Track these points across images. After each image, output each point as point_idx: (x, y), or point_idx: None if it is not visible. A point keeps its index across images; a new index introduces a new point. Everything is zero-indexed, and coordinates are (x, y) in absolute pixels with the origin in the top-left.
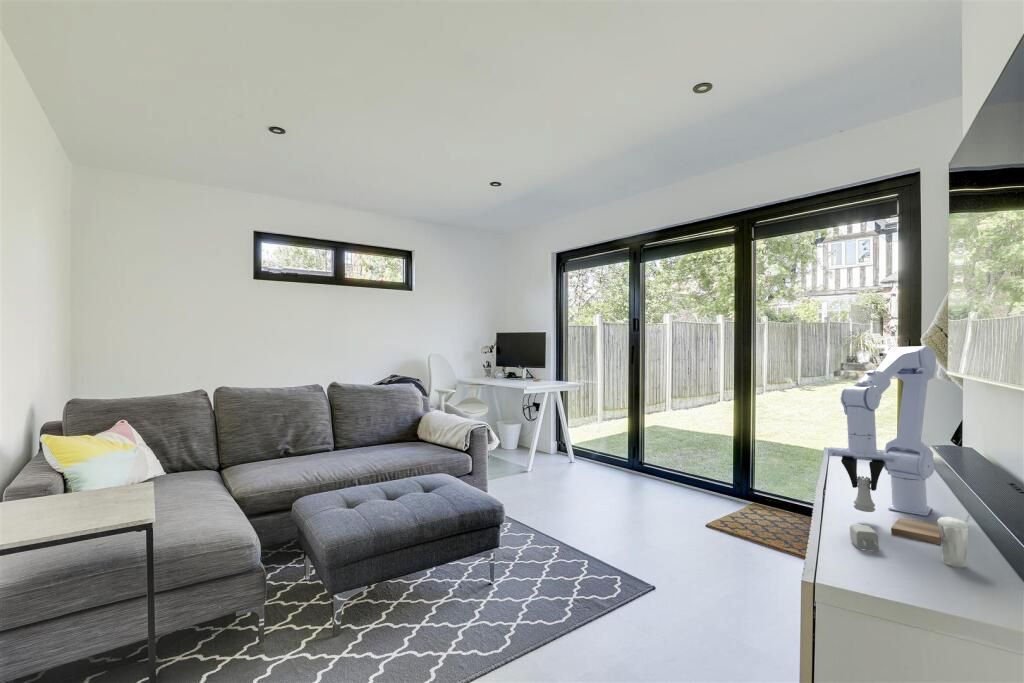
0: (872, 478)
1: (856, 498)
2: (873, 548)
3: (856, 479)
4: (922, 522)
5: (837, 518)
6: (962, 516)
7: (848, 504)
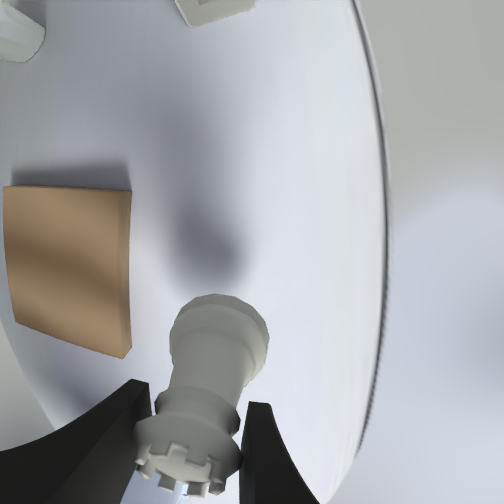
0: (91, 434)
1: (251, 359)
2: None
3: (242, 471)
4: (65, 335)
5: (329, 293)
6: None
7: (291, 458)
